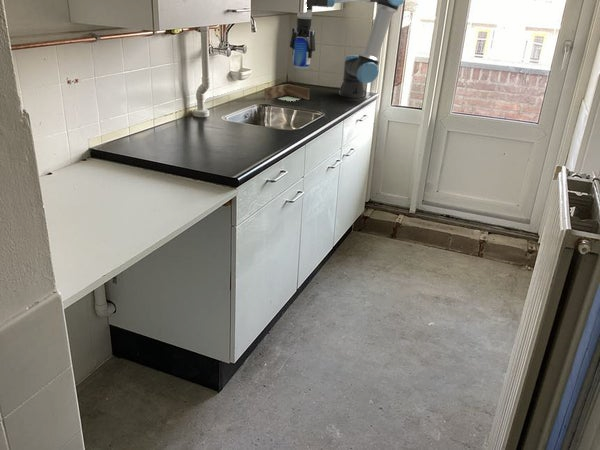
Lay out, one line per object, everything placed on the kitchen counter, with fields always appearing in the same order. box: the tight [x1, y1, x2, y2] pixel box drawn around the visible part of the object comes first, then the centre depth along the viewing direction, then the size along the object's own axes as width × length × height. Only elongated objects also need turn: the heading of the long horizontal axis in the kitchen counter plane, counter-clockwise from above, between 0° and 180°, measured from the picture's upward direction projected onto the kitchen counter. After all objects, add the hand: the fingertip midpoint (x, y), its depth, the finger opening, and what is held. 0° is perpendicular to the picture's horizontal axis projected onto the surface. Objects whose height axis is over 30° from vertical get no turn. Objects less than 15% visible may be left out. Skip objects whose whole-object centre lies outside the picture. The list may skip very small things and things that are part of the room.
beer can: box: [293, 37, 310, 70], centre depth 284 cm, size 8×8×16 cm
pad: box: [277, 95, 301, 103], centre depth 298 cm, size 9×9×1 cm
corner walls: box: [263, 83, 311, 101], centre depth 296 cm, size 20×16×6 cm
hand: (301, 63), depth 286 cm, fingers closed on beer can, 8 cm apart
